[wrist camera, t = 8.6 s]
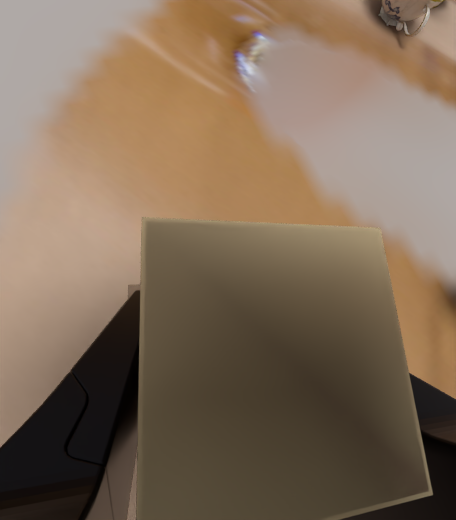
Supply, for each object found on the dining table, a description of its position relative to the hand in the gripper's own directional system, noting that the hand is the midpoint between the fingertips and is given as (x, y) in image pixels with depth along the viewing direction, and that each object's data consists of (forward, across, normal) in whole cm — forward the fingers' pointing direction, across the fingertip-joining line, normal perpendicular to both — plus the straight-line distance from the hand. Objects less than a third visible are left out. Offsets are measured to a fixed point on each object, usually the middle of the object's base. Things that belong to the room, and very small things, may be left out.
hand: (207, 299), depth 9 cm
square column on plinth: (+4, 0, +6) cm, 7 cm away
